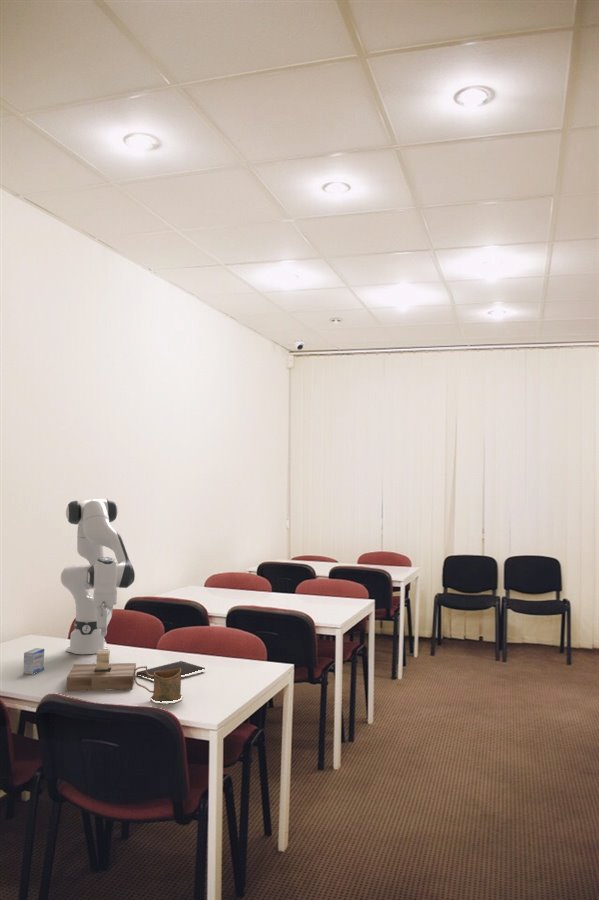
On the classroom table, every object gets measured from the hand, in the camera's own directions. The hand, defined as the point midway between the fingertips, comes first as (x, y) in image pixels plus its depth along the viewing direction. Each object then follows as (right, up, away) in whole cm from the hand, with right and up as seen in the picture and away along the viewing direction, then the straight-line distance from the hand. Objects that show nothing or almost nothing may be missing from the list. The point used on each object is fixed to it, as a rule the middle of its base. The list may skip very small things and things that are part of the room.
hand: (103, 635), depth 269 cm
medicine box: (-32, -18, +12) cm, 39 cm away
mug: (+25, -18, -19) cm, 36 cm away
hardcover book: (+24, -20, +13) cm, 34 cm away
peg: (0, -18, -1) cm, 18 cm away
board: (0, -18, -1) cm, 18 cm away
